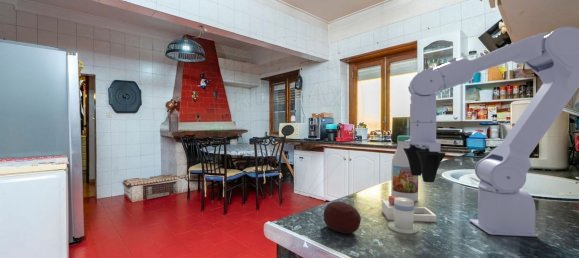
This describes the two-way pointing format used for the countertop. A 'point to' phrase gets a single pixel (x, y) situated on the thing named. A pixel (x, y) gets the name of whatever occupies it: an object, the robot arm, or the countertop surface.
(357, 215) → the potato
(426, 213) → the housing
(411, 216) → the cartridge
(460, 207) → the countertop surface
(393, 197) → the plunger
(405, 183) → the milk bottle
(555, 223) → the countertop surface
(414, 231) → the pale green dome
